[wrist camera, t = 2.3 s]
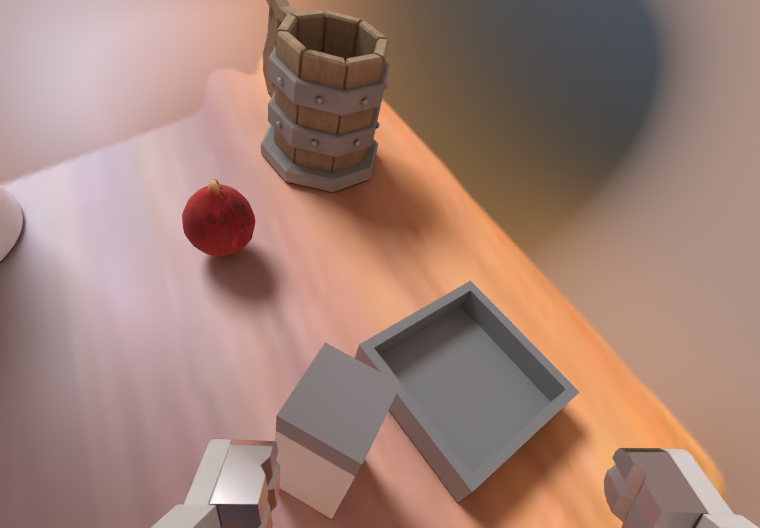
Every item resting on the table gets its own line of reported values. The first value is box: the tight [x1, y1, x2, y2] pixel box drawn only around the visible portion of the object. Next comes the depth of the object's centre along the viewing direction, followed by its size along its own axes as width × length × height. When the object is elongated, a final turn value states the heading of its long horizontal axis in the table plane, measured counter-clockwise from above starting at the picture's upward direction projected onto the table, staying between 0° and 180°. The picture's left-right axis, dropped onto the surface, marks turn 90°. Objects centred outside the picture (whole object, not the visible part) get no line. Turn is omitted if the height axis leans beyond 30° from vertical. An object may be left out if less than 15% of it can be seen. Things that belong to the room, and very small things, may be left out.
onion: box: [182, 179, 255, 256], centre depth 38 cm, size 6×6×8 cm
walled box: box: [355, 281, 579, 503], centre depth 36 cm, size 13×13×3 cm
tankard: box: [261, 0, 389, 192], centre depth 49 cm, size 20×13×15 cm, turn 39°
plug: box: [275, 343, 401, 519], centre depth 27 cm, size 4×4×12 cm
